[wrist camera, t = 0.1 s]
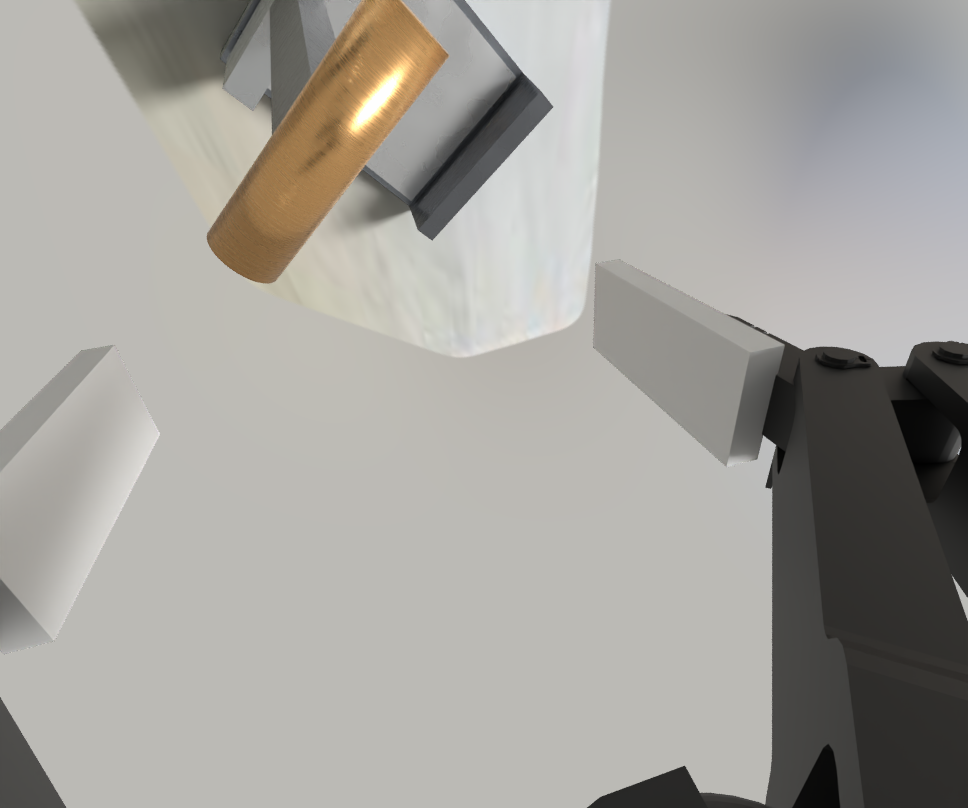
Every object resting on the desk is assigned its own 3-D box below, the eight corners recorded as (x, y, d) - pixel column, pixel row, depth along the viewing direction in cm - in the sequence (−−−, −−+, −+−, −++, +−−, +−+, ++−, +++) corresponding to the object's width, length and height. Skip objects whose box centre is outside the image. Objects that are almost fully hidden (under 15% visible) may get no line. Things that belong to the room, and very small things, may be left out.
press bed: (338, -156, 26) (348, -151, 23) (527, 80, 36) (553, 106, 33) (221, 51, 31) (216, 79, 27) (419, 207, 41) (432, 240, 38)
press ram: (334, -145, 25) (432, -83, 10) (372, -100, 26) (503, 10, 12) (221, 54, 29) (178, 294, 15) (259, 83, 30) (253, 327, 16)
